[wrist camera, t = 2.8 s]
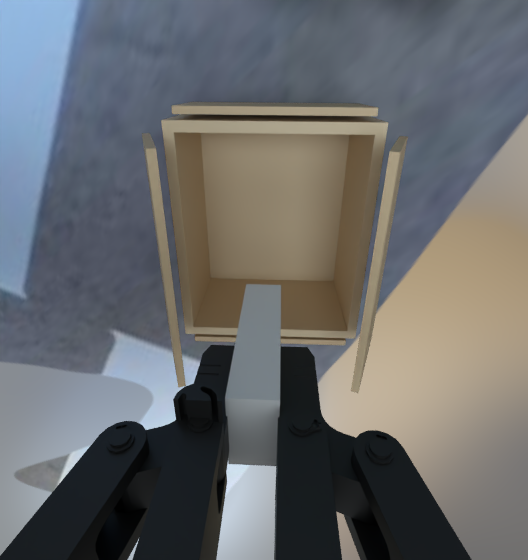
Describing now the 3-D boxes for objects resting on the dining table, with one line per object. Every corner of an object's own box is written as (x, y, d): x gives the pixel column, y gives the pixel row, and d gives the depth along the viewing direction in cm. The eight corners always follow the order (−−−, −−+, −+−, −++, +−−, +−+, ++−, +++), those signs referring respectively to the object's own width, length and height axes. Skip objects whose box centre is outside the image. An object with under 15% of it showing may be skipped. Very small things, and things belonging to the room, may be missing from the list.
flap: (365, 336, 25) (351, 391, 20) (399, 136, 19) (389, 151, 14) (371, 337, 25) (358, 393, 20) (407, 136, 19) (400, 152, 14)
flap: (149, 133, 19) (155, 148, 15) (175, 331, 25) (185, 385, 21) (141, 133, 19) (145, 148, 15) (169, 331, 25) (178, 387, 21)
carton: (206, 287, 33) (186, 341, 26) (191, 100, 26) (159, 105, 19) (337, 290, 33) (353, 346, 26) (360, 101, 26) (390, 108, 19)
